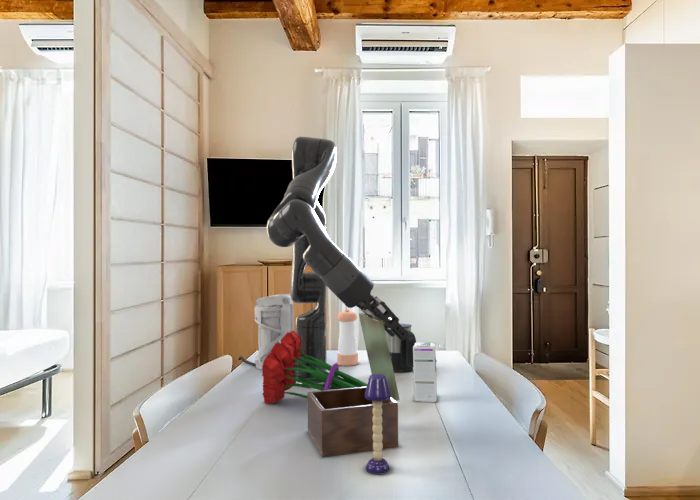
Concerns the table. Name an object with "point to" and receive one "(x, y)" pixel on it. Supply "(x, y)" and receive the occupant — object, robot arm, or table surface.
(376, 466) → the toy lamp
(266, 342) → the lantern
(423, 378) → the syrup box
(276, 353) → the bouquet
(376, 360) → the green lid with handle
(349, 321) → the pepper shaker
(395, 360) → the milk frother
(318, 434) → the crate
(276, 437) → the table surface
